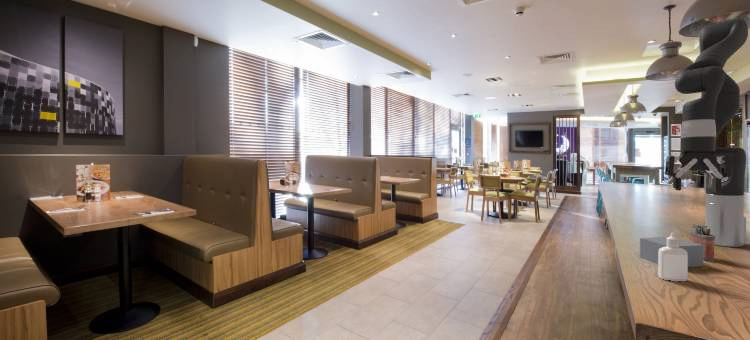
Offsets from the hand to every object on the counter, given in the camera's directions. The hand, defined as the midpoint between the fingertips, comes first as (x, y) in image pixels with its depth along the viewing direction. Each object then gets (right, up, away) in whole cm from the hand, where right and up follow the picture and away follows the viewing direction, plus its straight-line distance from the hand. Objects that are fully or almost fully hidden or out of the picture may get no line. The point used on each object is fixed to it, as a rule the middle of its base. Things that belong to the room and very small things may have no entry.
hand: (696, 191), depth 100 cm
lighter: (+4, -21, +3) cm, 21 cm away
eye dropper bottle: (-19, -22, -13) cm, 32 cm away
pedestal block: (-7, -21, 0) cm, 22 cm away
